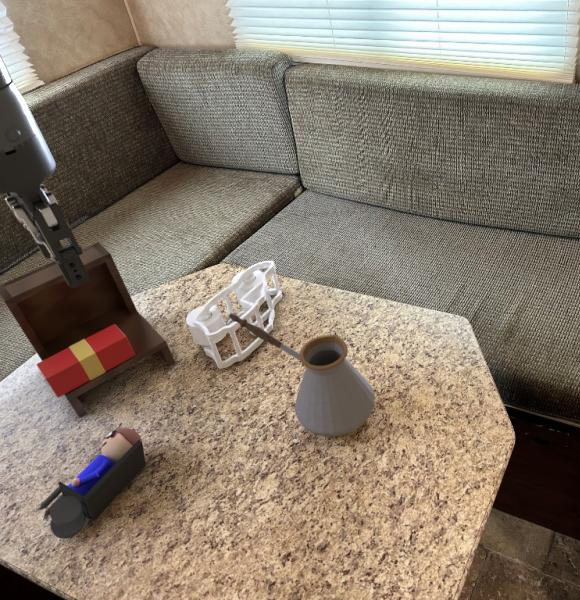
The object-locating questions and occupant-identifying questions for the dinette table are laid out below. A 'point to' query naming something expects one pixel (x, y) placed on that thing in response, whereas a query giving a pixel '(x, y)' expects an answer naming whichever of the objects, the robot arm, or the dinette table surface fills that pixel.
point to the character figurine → (96, 483)
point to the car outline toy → (251, 296)
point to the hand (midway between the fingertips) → (67, 268)
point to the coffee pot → (325, 384)
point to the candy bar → (86, 360)
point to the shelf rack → (80, 313)
